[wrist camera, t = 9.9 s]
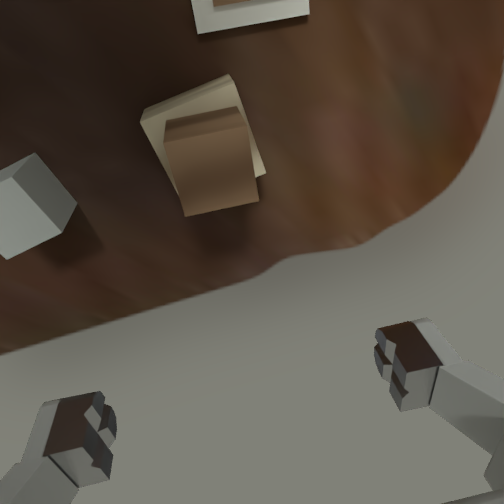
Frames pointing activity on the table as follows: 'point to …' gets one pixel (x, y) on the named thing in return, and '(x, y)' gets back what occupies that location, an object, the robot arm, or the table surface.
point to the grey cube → (31, 205)
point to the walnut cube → (211, 160)
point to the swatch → (243, 12)
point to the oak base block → (191, 103)
